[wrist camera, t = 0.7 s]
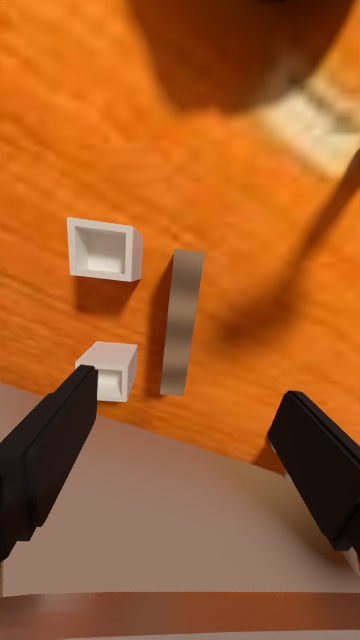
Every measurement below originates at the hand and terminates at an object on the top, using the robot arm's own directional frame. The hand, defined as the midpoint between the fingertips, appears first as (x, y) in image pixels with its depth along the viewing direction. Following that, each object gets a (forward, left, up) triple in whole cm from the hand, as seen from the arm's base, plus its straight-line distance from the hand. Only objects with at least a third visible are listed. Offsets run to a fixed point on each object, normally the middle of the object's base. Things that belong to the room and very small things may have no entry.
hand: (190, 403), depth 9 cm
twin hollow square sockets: (-2, +10, -21) cm, 24 cm away
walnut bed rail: (-2, 0, -21) cm, 21 cm away
